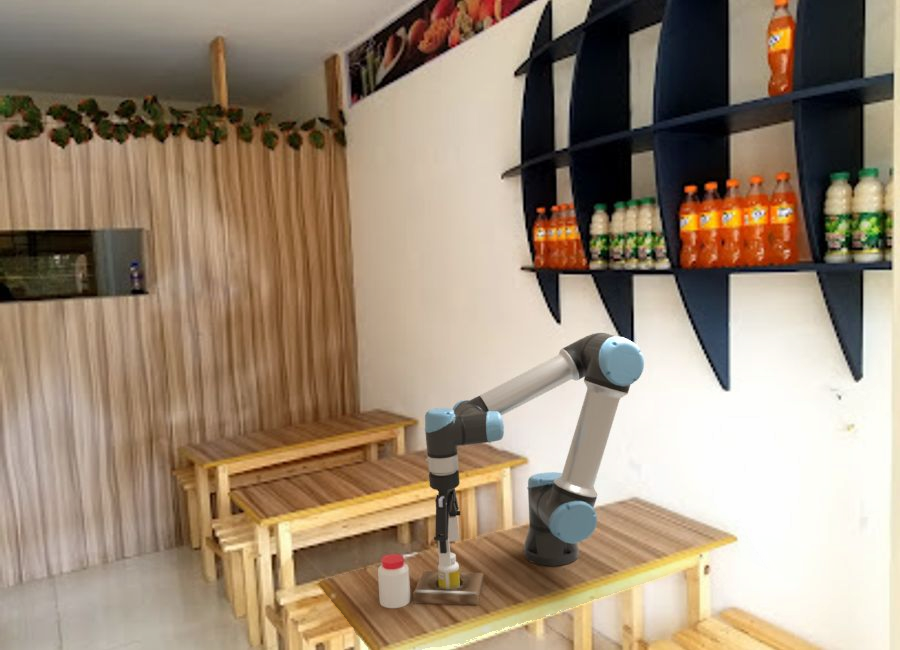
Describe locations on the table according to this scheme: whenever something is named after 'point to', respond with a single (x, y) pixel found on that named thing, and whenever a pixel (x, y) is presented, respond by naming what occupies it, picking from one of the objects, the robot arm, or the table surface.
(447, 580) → the supplement bottle
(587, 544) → the table surface
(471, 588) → the jig
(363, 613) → the table surface
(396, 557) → the pill bottle
